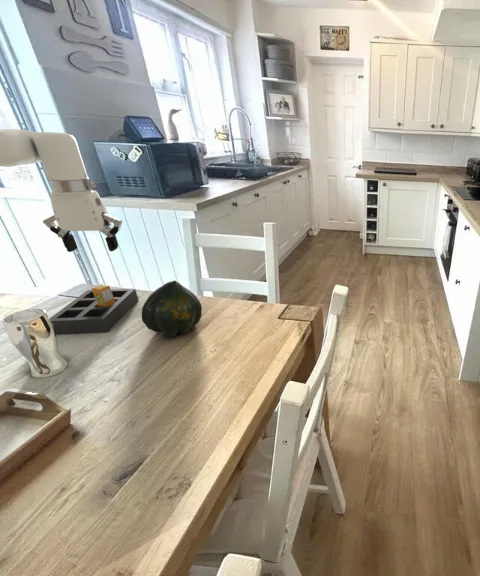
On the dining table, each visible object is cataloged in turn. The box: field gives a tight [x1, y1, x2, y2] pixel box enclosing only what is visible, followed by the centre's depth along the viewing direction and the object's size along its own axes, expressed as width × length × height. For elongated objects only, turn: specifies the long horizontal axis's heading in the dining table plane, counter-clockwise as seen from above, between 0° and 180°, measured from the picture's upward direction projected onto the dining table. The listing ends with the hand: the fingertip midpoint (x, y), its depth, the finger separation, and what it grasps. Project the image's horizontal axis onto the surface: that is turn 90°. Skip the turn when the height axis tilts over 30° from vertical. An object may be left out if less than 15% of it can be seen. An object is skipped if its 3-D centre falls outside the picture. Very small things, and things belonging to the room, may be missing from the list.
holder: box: [49, 288, 140, 336], centre depth 97 cm, size 13×19×4 cm
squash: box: [141, 280, 203, 338], centre depth 93 cm, size 14×15×15 cm
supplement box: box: [91, 283, 115, 307], centre depth 97 cm, size 3×3×10 cm
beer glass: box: [2, 307, 68, 379], centre depth 74 cm, size 7×7×15 cm
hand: (93, 250), depth 89 cm, fingers open, 9 cm apart
